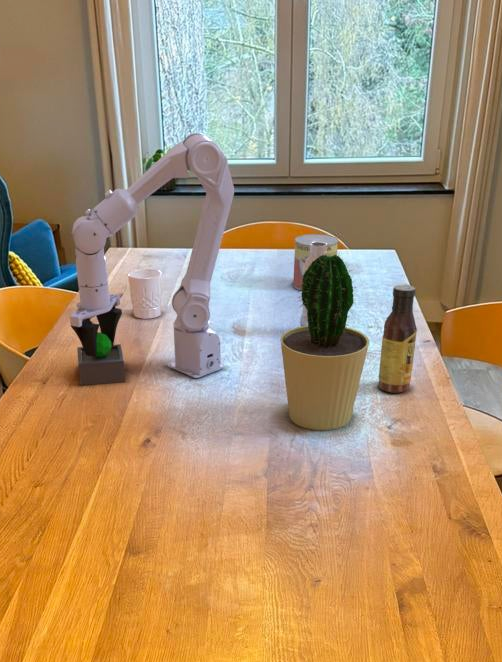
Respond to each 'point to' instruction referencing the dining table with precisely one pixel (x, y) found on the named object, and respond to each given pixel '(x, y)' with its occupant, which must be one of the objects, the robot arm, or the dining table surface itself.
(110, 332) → the robot arm
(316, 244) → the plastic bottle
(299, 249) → the canned food
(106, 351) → the polyhedron
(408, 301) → the sauce bottle
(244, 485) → the dining table surface
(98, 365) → the grey box
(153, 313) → the white cup
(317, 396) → the potted cactus
